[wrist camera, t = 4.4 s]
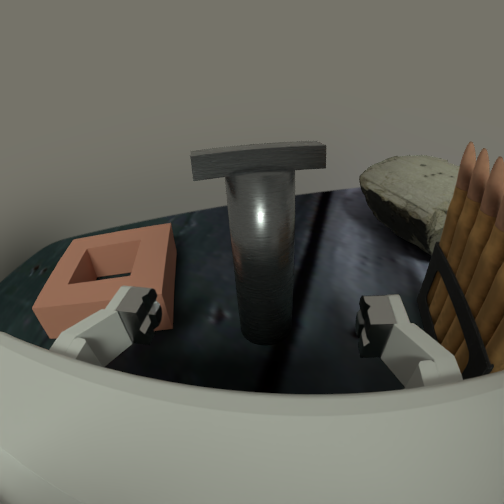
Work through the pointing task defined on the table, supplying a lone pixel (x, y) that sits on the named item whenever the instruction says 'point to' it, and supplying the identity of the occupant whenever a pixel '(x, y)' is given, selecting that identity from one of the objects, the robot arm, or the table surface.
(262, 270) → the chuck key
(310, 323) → the table surface
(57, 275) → the orange square frame
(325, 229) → the table surface
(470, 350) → the ammunition clip
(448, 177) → the concrete fragment
